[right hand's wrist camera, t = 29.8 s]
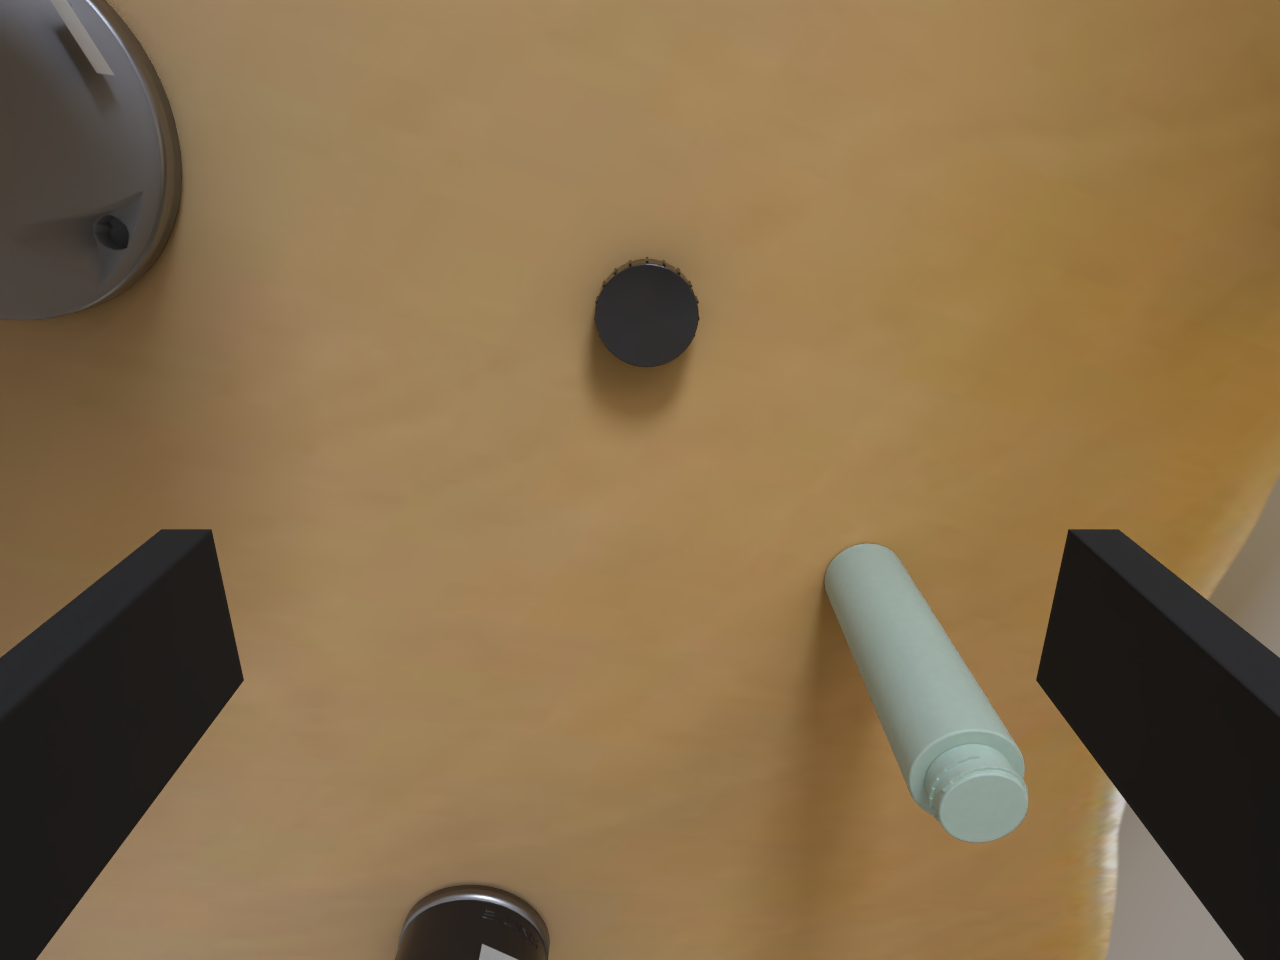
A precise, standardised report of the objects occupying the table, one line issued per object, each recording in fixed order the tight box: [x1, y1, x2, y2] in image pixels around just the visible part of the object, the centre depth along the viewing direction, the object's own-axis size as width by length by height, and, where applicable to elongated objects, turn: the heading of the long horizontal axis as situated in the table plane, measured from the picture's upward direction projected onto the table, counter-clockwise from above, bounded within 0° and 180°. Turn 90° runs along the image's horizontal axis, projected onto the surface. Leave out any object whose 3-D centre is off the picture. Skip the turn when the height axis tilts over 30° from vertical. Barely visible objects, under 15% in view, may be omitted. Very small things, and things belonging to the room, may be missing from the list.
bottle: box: [824, 543, 1028, 843], centre depth 36 cm, size 4×4×16 cm
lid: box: [595, 257, 699, 367], centre depth 37 cm, size 5×5×2 cm
